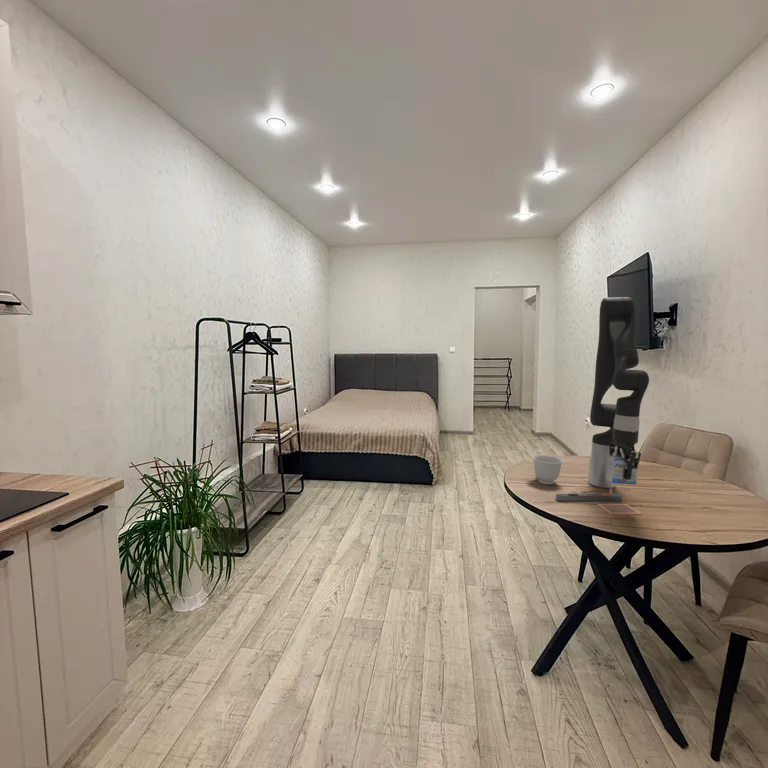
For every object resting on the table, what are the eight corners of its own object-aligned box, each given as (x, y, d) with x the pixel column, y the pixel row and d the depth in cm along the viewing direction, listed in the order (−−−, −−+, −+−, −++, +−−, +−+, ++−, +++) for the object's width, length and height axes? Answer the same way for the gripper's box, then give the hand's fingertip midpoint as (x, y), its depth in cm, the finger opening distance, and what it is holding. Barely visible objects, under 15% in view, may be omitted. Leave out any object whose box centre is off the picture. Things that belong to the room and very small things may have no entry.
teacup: (552, 475, 179) (554, 453, 178) (566, 487, 164) (568, 463, 163) (524, 474, 179) (525, 452, 178) (536, 486, 164) (538, 462, 163)
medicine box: (611, 483, 141) (613, 458, 140) (606, 478, 145) (608, 454, 144) (636, 484, 140) (638, 460, 139) (630, 480, 144) (632, 456, 143)
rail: (555, 499, 152) (556, 487, 151) (618, 499, 153) (619, 487, 153) (558, 501, 150) (559, 489, 149) (621, 501, 151) (622, 489, 151)
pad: (597, 505, 147) (597, 503, 147) (626, 504, 148) (626, 503, 148) (610, 514, 139) (610, 513, 139) (641, 514, 140) (641, 513, 140)
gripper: (603, 423, 147) (599, 470, 149) (629, 432, 133) (624, 483, 135) (623, 424, 148) (618, 470, 150) (651, 433, 134) (646, 483, 135)
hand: (621, 476), depth 142 cm, fingers closed on medicine box, 5 cm apart
